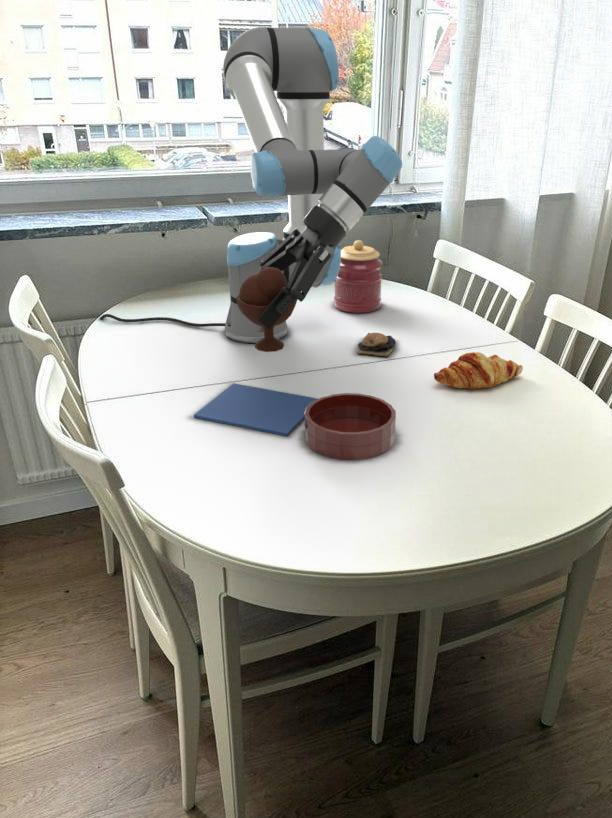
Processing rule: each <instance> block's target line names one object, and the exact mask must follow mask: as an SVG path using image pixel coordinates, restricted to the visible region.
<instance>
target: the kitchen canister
mask: <svg viewBox="0 0 612 818" xmlns="http://www.w3.org/2000/svg"><path fill="white" fill-rule="evenodd" d="M340 250H341V263H340V269H339V273H338V276H337V278H336V280H335V281H334V294H333V302H334V307H335V308H336V309H337V310H340V311H342V312H346V313H353V314H359V313H360V314H363V313H371V312H374V311H377V310H378V309H380V307H381V304H382V279H383V274H382V273H381V268H382V266H383V261H382V260H380V259H379V257H380V256H381V253H380V252H379V251H377V250H376V249H375V248H374V247H371V246H368V245H364V242H363V240H360V239H356V240H355V241H354V242H353V244H352V245H347V246H344V247H342V249H340Z"/></svg>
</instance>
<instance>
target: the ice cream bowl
mask: <svg viewBox="0 0 612 818" xmlns="http://www.w3.org/2000/svg"><path fill="white" fill-rule="evenodd" d="M286 286H287V281H286V277H285V276H284V274H283V273H282V272H281V271H280V270H279V269H278V268H274V267H265V268H263V269H261V270H260V272H259V273H258V274H254V275H251V276H249V277H248V278H247V279H246V280H245V281H244V282H243V284H242V286H241V288H240V293H239V295H238V297H237V298H236V301H237V305H238V307H239V309H240V311H241V313H242V314H243V315H244V316H246V317H247V318H248V319H249V320H250V321H252V322H253V323H255V324H256V325H258V326H262V327H263V329H264V338H262V339H260V340H259V341H257V343H254V344H255V345H254V348H255V349H256V350H257V351H259V352H264V353H271V352H272V353H273V352H279V351H282V350H283V349H284V347H285V343H284V341H282V340H281V339H277V338H275V337H274V332H273V329H274V326H276V325H279V324H281V323H283V322H285V321H286V322H287V320H288V319H289V318H290V317H292V314H293V312H294V310H295V308H296V305H297V302H298V300H296V301H293V302H292V303H291V304H290V305H289V307H288V308H287V309H286V310H285V311H284V313H283V314H282V315H281V316H280V317H279V319H278V320H277V321H276V322H275V323H274V325H273V326H272V327H271V328H270V329H268V328H267V327H266V326H265V325H263V324H262V323H261V322H260V321H259V320H258V319H257V318H258V317H259V316H260V315H261V314H262V312H263V311H264V310H265V309H266V308H267V306H268V305H269V304H270V303H271V302H272V300H273V299H274V298H275V297H276V296H277V294H278V293H279V292H280V291H281V288H283V287H286ZM283 292H284V291H283ZM284 293H285V292H284Z"/></svg>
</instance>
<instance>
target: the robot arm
mask: <svg viewBox="0 0 612 818" xmlns="http://www.w3.org/2000/svg"><path fill="white" fill-rule="evenodd" d="M222 65H223V66H222V73H223V74H222V75H223V80H224V83H225V87H226V89H227V90H228V93H229V94H230V95H231V97H232V98H233V99H235V100H236V102H237V105H238V108H239V110H240V113H241V116H242V119H243V122H244V124H245V127H246V130H247V133H248V135H249V138H250V141H251V144H252V147H253V150H254V153H253V154H252V156H251V158H250V177H251V180H252V182H251V183H252V187H253V190H254V191H255V193H256V194H257V195H258V196H261V197H263V196H264V197H275V198H278V197H282V196H283V197H286V196H287V199H288V200H287V201H288V221H289V222H288V224H287V225H286V226H285V227H284V229H283V232H282V233H283V238H278V237H277V236H276V235H275V234H274V232H271V231H263V232H262V231H254V232H249V233H245V234H242V235H238V236H236V237H235V238H233V239H231V240H230V241H229V242H228V244H227V247H226V265H227V270H228V283H229V285H228V286H229V299H230V302H229V303H230V304H229V307H228V312H227V316H226V320H225V322H211V323H210V322H206V323H194V322H189V321H185V320H182V319H177V318H174V317H166V316H163V317H162V316H156V317H144V318H121V317H119V316H115V315H114V314H111V313H104V314H102V315H101V316H100V317H99V320H104V319H105V318H110V319H112V320H115V321H118V322H121V323H144V322H153V321H165V322H166V321H167V322H168V321H169V322H175V323H179V324H181V325H186V326H190V327H197V328H206V327H224V331H225V336H226V337H227V338H229V339H230V340H232V341H236V342H239V343H245V344H256V343H257V341H259V340H260V339H262V338H264V329H263V327H262V326H258V325H256V324H255V323H253V322H252V321H250V320H249V319H248V318H247V317H246V316H244V315H243V314H242V313H241V311H240V309H239V307H238V305H237V301H236V298H237V297H238V295H239V293H240V288H241V286H242V284H243V282H244V281H245V280H246V279H247V278H248V277H249V276H251V275H254V274H258V273H259V272H260V270H261V269H263V268H265V267H274V268H278V269H279V270H280V271H281V272H282V273H283V274H284V276H285V277H286V281H287V286H286V287H283V288H281V291H280V292H279V293H278V294H277V296H276V297H275V298H274V299H273V300H272V302H271V303H270V304H269V305H268V306H267V308H266V309H265V310H264V311H263V312H262V314H261V315H260V316H259V317H258V318H257V319H258V320H259V321H260V322H261V323H262V324H263V325H265V326H266V327H267V328H268V329H270V328H271V327H272V326H273V325H274V323H275V322H276V321H277V320H278V319H279V317H280V316H281V315H282V314H283V313H284V311H285V310H286V309H287V308H288V307H289V305H290V304H291V303H292V302H293V301H296V300H297V301H299V302H303V301H304V300H305V299H306V297H307V295H308V293H309V292H310V290H311V288H315V289H316V288H319V287H326V286H330V285H332V284H334V283H335V280H336V278H337V276H338V273H339V269H340V263H341V250H342V249H341V243H342V241H343V240H344V239H345V238H346V236H347V231H351V230H352V229H353V228H354V226H355V225H356V224H359V223H360V222H361V221H360V219H361V218H362V217H363V216H364V214H365V213H367V211H368V210H369V209H370V208H371V207H372V205H373V204H374V203H375V202H376V201H377V199H378V198H379V197H380V196H381V195H382V194H383V192H384V191H385V190H386V189H387V187H389V185H390V184H391V183H393V182H394V179H395V178H396V177H397V175H398V174H399V173H400V171H401V169H402V168H403V160H402V158H401V156H400V154H399V153H398V152H397V151H396V149H394V148H393V145H391V144H390V143H389V142H388V141H386V140H385V139H384V138H382V137H380V136H378V135H373V136H371V137H370V138H369V139H368V140H367V141H366V142H365V143H363V144H362V145H361V148H360V149H355V148H352V147H339V148H338V149H337V148H336V149H325V129H324V127H325V126H324V109H325V108H326V106H327V105H328V103H329V102H330V101H331V92H334V91H335V90H337V88H338V84H339V77H340V69H339V60H338V54H337V49H336V46H335V43H334V41H333V38H332V37H331V35H330V34H329V33H328V32H327V31H326V30H324V29H322V28H321V29H320V28H311V27H306V26H305V27H266V26H258V27H254V28H250V29H248V30H245V31H244V32H242V33H241V34H240V35H239V36H237V37H236V38H234V40H233V41H232V42H231V44H230V46H229V47H228V49H227V51H226V54H225V56H224V60H223V64H222ZM275 92H276V93H275ZM281 107H282V108H283V110H284V114H283V111H282V108H281ZM283 291H284V292H285V293H284V292H283ZM273 332H274V337H275V338H277V339H279V340H281V339H282V338H284V337H285V336H286V335H287V334H288V323H287V320H286V321H285V322H283V323H281V324H279V325H276V326H274V329H273Z"/></svg>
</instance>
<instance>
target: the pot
mask: <svg viewBox="0 0 612 818" xmlns="http://www.w3.org/2000/svg"><path fill="white" fill-rule="evenodd" d="M396 413H397V410H396V409H395V408H394V407H393V405H392V404H390V403H389V402H387V401H386V400H384V399H382V398H379V397H376V396H374V395H370V394H363V393H357V392H355V393H354V392H352V393H351V392H343V393H334V394H333V393H332V394H329V395H326V396H322V397H319V398H317V400H315V401H313V402H311V403H310V404H309V405H308V406H307V407H306V410H305V414H304V416H305V418H304V438H305V442H306V444H307V446H308V447H309V448H310V449H311V450H312V451H314V452H315V453H317V454H319V455H321V456H324V457H326V458H330V459H331V458H332V459H334V460H335V459H336V460H345V461H356V460H357V461H360V460H365V459H366V460H367V459H371V458H375V457H377V456H378V457H379V456H380V455H383V454H384V453H386V452H387V451H389V450H390V449H391V448H392V447H393V445H394V443H395V441H396V440H395V439H396V438H395V437H396V419H397V416H396Z"/></svg>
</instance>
